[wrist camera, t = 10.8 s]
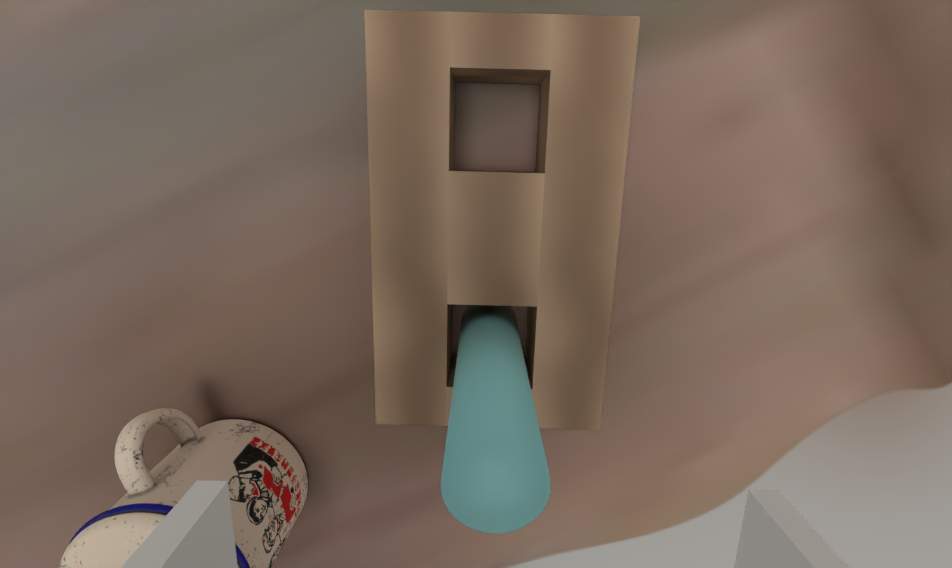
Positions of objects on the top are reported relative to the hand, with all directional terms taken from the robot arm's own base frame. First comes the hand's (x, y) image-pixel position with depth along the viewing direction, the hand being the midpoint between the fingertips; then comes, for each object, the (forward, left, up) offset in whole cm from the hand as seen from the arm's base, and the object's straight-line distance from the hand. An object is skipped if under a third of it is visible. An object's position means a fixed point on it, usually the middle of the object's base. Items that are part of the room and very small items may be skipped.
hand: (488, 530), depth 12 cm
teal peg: (0, 0, -17) cm, 17 cm away
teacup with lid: (-16, -10, -17) cm, 25 cm away
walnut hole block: (0, +5, -17) cm, 18 cm away
